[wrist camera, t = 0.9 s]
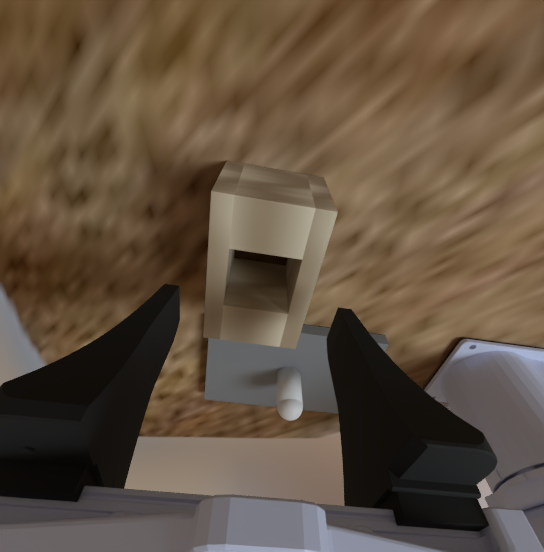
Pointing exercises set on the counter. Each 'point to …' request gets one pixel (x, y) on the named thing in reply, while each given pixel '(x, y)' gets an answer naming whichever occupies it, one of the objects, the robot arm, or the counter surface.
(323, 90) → the counter surface
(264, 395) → the pin board
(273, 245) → the hollow block
